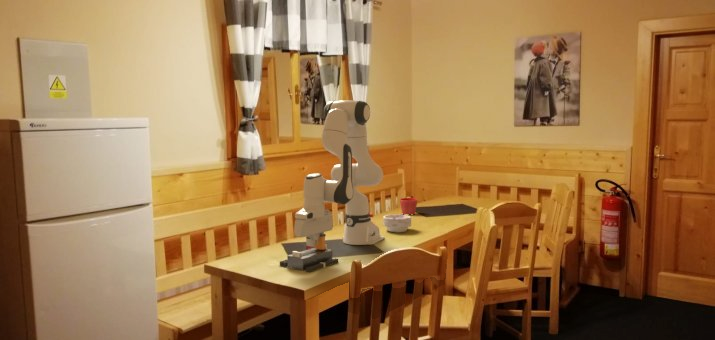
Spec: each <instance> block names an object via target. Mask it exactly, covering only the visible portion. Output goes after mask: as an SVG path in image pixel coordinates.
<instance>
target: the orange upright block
mask: <svg viewBox="0 0 715 340" xmlns="http://www.w3.org/2000/svg"><path fill="white" fill-rule="evenodd" d="M325 245H326V233H324V234H322V233H320V236H319V238H318V244H315V248H316V249H320V250H324V249H325Z"/></svg>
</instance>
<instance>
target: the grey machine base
mask: <svg viewBox="0 0 715 340" xmlns="http://www.w3.org/2000/svg"><path fill="white" fill-rule="evenodd" d="M286 257H287V258H286V259H287V261H288V266H287V268H288V269H294V270H296V271H297V270H298V271H301V272H304V271H305V272H306V268H307V267H310V266H313V265H317V264H320V262H326V261H329V260H332V259H333V249H330V248H328V244H325V249H324V250H320V249H316V248H312V249H308V250H302V251H297V250H293V251H292V254H288V255H287V256H286Z"/></svg>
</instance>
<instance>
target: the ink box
mask: <svg viewBox="0 0 715 340" xmlns="http://www.w3.org/2000/svg"><path fill="white" fill-rule="evenodd" d="M322 234H325V232H322ZM305 244H306V245H305V247H306V248H305V249H306V250H308V249H312V248H315V245H313V244H311V239H310V237H309V236H306V237H305Z"/></svg>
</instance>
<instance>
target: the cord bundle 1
mask: <svg viewBox="0 0 715 340" xmlns="http://www.w3.org/2000/svg"><path fill="white" fill-rule="evenodd" d="M279 266H280V267H285V268H287V267H288V261H287V258H286V259H284V260H281V261H279Z"/></svg>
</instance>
